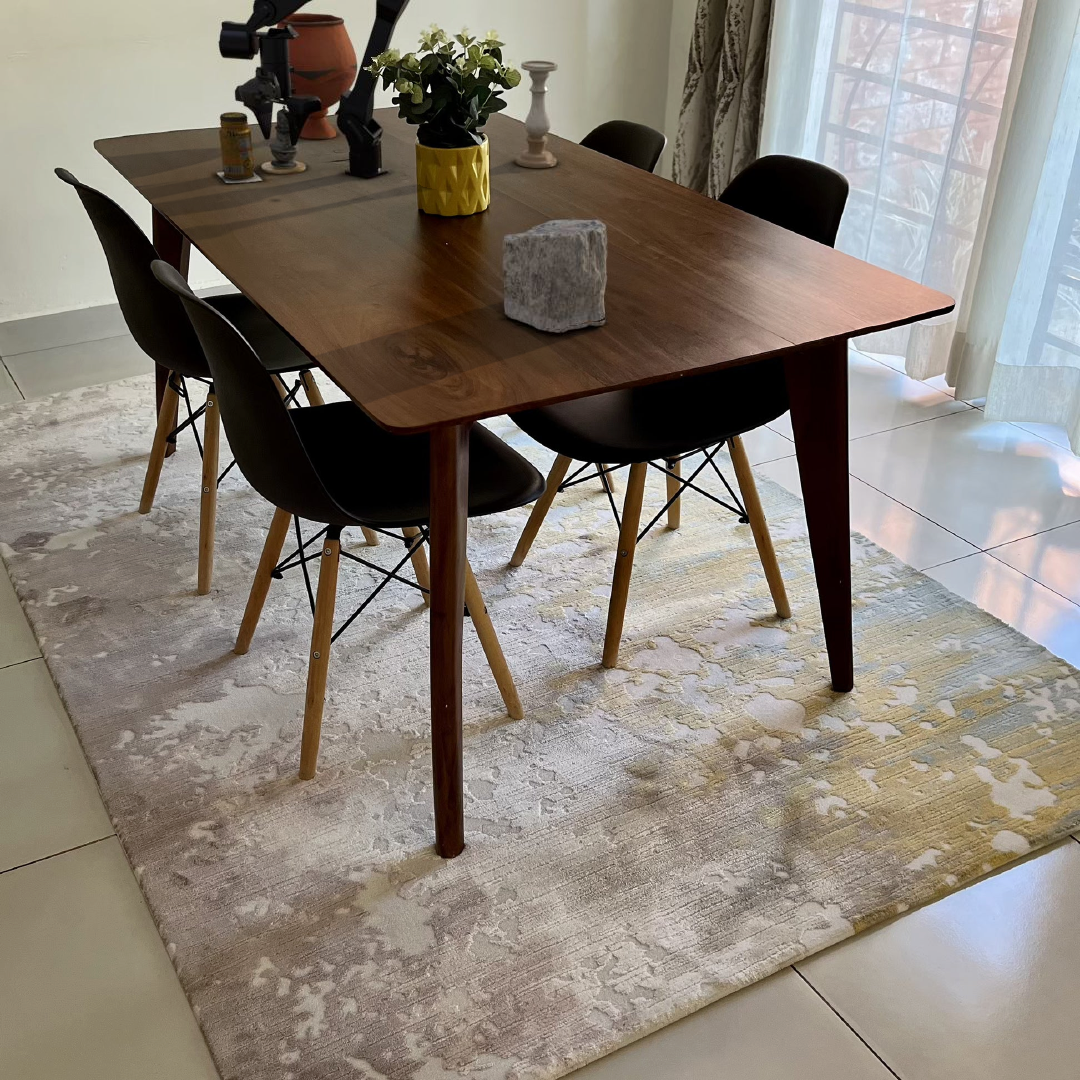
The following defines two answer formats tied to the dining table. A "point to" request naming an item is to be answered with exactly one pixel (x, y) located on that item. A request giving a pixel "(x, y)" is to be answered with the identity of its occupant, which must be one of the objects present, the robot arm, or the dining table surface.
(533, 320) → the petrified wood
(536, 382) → the dining table surface
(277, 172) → the coaster
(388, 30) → the robot arm
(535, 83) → the candle holder
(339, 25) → the goblet
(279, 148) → the grey carved stone piece
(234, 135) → the condiment
